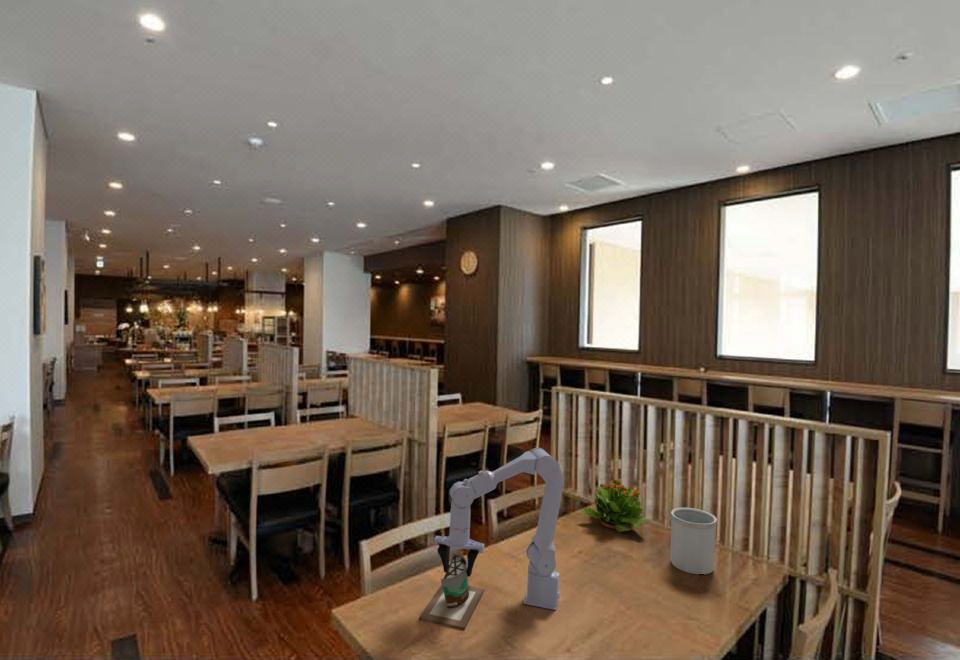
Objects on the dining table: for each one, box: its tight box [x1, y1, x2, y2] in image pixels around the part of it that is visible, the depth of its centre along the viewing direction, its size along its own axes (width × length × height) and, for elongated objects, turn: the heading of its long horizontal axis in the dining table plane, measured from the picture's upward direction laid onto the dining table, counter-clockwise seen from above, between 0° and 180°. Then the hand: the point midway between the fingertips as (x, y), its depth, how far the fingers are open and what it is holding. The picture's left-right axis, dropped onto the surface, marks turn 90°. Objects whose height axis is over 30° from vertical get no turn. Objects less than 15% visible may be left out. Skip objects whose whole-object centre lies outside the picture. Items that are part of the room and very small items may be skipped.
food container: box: [440, 552, 470, 608], centre depth 143 cm, size 12×6×10 cm, turn 166°
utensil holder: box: [670, 507, 718, 575], centre depth 174 cm, size 15×15×18 cm
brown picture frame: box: [418, 585, 485, 631], centre depth 143 cm, size 13×20×1 cm, turn 164°
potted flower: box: [580, 478, 647, 533], centre depth 207 cm, size 25×24×18 cm
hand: (457, 572), depth 143 cm, fingers closed on food container, 6 cm apart
